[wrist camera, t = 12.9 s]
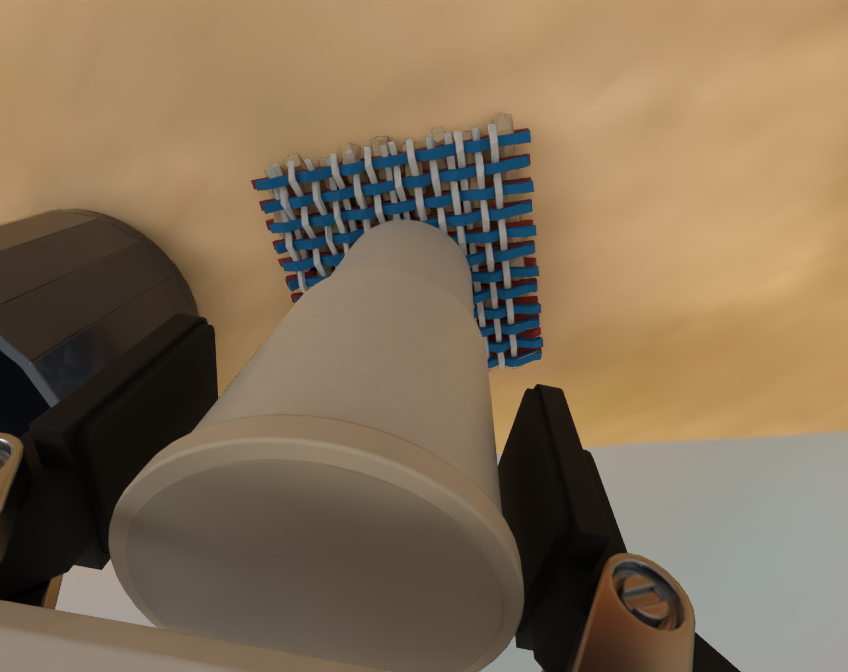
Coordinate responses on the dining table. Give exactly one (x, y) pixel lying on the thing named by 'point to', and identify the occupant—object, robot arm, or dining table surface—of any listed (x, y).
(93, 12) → the dining table surface
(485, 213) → the woven mat
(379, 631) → the paper cup
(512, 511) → the robot arm
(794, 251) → the dining table surface
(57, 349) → the mug
